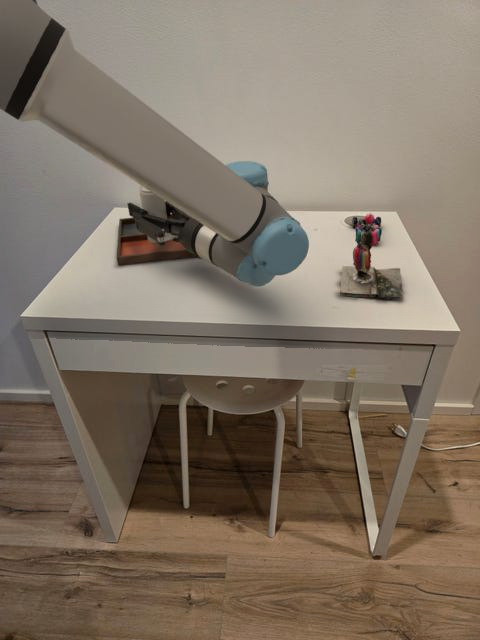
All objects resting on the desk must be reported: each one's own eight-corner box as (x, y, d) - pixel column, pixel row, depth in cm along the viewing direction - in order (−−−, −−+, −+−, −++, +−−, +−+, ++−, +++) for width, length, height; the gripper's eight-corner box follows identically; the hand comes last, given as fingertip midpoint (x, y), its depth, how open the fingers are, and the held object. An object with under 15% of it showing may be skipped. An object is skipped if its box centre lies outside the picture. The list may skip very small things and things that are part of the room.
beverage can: (172, 236, 97) (165, 183, 90) (166, 246, 93) (158, 191, 86) (152, 235, 98) (143, 182, 91) (144, 245, 94) (135, 190, 87)
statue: (340, 301, 82) (339, 227, 73) (342, 274, 89) (342, 204, 80) (402, 301, 79) (409, 225, 70) (399, 274, 86) (405, 201, 77)
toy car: (350, 223, 106) (352, 208, 103) (377, 223, 105) (380, 208, 103) (359, 246, 96) (361, 230, 94) (388, 246, 96) (391, 230, 93)
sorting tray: (118, 265, 92) (116, 257, 91) (120, 225, 108) (119, 218, 106) (203, 256, 94) (202, 248, 93) (193, 218, 110) (192, 211, 109)
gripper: (172, 274, 79) (107, 234, 92) (244, 241, 88) (176, 209, 102) (167, 236, 74) (100, 200, 88) (243, 206, 83) (172, 177, 97)
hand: (141, 205), depth 95 cm, fingers closed on beverage can, 5 cm apart
